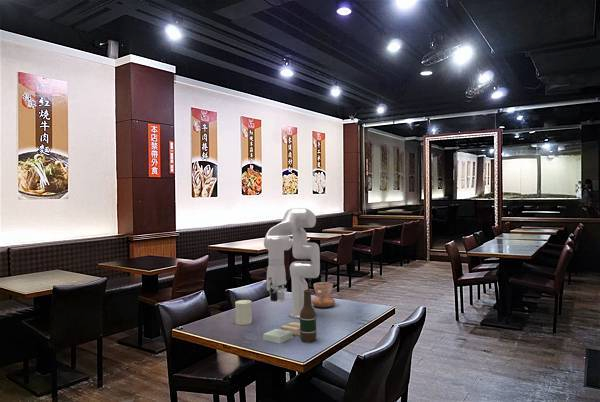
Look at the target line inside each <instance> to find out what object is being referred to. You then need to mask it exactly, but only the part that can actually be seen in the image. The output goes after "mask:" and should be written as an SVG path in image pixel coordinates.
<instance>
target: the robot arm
mask: <svg viewBox="0 0 600 402" xmlns="http://www.w3.org/2000/svg"><path fill="white" fill-rule="evenodd" d="M316 222H317V218H316V215H315V213H314V212H313V211H312V210H310V209H309V208H304V207H303V208H301V207H298V208H289V209H287V210H286V212H285V213H284V215H283V217H282V219H281V222H279V223H278V224H276V225H274V226H272V227H270V228H269V230H268V231H267V232H266V234H265V237H264V240H263V247H264V249H265V250H267V251H268V266H267V270H266V289H268V290H269V291H268V290H267V291H268V292H269V295H270V294H271V301H270V302H273V301H276V293H275V292H276V287H281V288H286V285H287V282H288V281H287V278H286V277H287V275H286V267H285V266H286V265H285V251H289V250H290V249H291V248H292V257H293V258H294V259H297V260H296V261H293V262H291V264H290V265H289V273H290V278H291V304H292V305H291V309H292V311H291V312H289V316H290V318H296V319H300V313H301V310H302V308H303V306H304V293H303V292H304V290H309V286H308V285H309V283H308V282H307V281H306V279H317V278H318V277H319V275H320V274H321V273H320V270H321V263H320V262H321V261H320V260H321V258H320V257H321V255H320V246H319V244H317V243H316V242H308V234H307V232H306V230H305V229H304V228H314V227H315V226H316ZM290 235H292V237H291V236H290ZM299 260H300V261H299ZM307 260H310V261H307ZM273 288H274V290H273Z"/></svg>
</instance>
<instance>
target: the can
mask: <svg viewBox="0 0 600 402" xmlns="http://www.w3.org/2000/svg"><path fill="white" fill-rule="evenodd" d="M234 303H235V321H234V322H235V323H234V324H235V325H238V326H239V325H240V326H244V325H245V326H247V325H250V324H252V323H253V317H252V312H253V311H252V307H253V306H252V300H249V299H241V300H240V299H239V300H236V301H235V302H234Z"/></svg>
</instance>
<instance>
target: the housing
mask: <svg viewBox="0 0 600 402" xmlns="http://www.w3.org/2000/svg"><path fill="white" fill-rule="evenodd" d="M266 289H267V288H266ZM287 289H288V287H287V288H286V287H284V288H281V287H278V286H277V287H276V292H275V293H276V301H271V294H270V293H269V297H268V298H267V301H268V302H275V303H280V304H281V303H283V302H287V301H288V298H287V297H285V292H287ZM273 290H274V288H273ZM267 291H268V292H270V291H269V290H268V289H267Z"/></svg>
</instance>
